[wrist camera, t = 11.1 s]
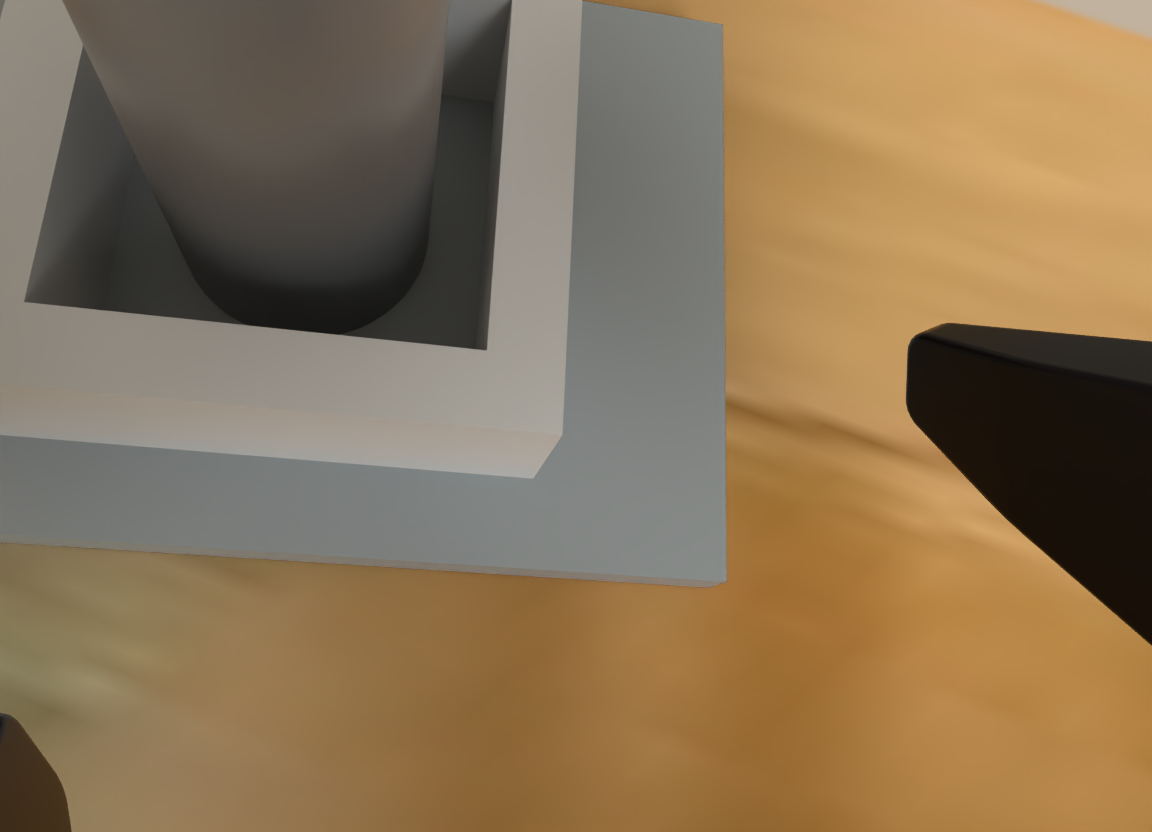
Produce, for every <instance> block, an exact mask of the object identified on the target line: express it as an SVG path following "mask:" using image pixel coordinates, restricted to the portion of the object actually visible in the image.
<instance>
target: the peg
mask: <svg viewBox="0 0 1152 832" xmlns="http://www.w3.org/2000/svg"><path fill="white" fill-rule="evenodd" d="M62 1H63V3H64V5H65V7H66V9H67V12H68V14H69V16H70V18H71V20H72V22H73V24H74V26H75V29H76V31H77V33H78V35H79V37H80V39H81V41H82V43H83V45H84V48H85V50H86V52H87V54H88V56H89V58H90V60H91V62H92V64H93V67H94V69H95V71H96V73H97V75H98V77H99V79H100V81H101V84H102V86H103V88H104V90H105V92H106V94H107V96H108V98H109V100H110V103H111V105H112V107H113V109H114V111H115V113H116V115H117V117H118V119H119V122H120V124H121V126H122V128H123V130H124V132H125V134H126V136H127V139H128V141H129V143H130V145H131V147H132V149H133V151H134V153H135V155H136V158H137V160H138V162H139V164H140V166H141V168H142V170H143V172H144V174H145V177H146V179H147V181H148V183H149V185H150V187H151V189H152V191H153V194H154V196H155V198H156V200H157V202H158V204H159V206H160V208H161V210H162V213H163V215H164V217H165V219H166V221H167V223H168V225H169V227H170V230H171V232H172V234H173V236H174V238H175V240H176V242H177V244H178V246H179V249H180V251H181V253H182V255H183V257H184V259H185V261H186V263H187V265H188V268H189V269H190V271H191V273H192V275H193V277H194V279H195V281H196V282H197V283H198V285H199V286H200V288H201V289H202V290H203V292H204V293H205V294H206V295H207V296H208V297H209V298H210V299H211V300H212V301H213V302H214V303H215V304H216V305H217V306H218V307H219V308H221V309H222V310H223V311H224V312H226V313H227V314H228V315H230V316H231V317H233V318H235V319H236V320H238V321H240V322H241V323H243V324H246V325H248V326H258V327H267V328H277V329H287V330H296V331H306V332H315V333H325V334H334V335H341V334H344V333H347V332H350V331H353V330H356V329H359V328H361V327H363V326H365V325H367V324H370V323H372V322H373V321H375V320H376V319H378V318H380V317H381V316H383V315H384V314H386V313H387V312H388V311H389V310H390V309H392V308H393V307H394V306H395V305H396V304H397V303H398V302H399V301H400V300H401V299H402V298H403V297H404V296H405V295H406V294H407V292H408V291H409V289H410V288H411V287H412V285H413V284H414V282H415V280H416V278H417V276H418V274H419V272H420V271H421V268H422V265H423V262H424V259H425V256H426V251H427V246H428V238H429V227H430V216H431V204H432V193H433V182H434V171H435V159H436V148H437V137H438V126H439V114H440V103H441V92H442V81H443V70H444V58H445V47H446V36H447V25H448V13H449V2H450V0H62Z"/></svg>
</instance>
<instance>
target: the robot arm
mask: <svg viewBox="0 0 1152 832" xmlns="http://www.w3.org/2000/svg"><path fill="white" fill-rule="evenodd" d="M906 405H907V409H908V412H909V414H910V416H911V418H912V420H913V421H914V423H915V424H916V425H917V426H918V427H919V428H920V429H921V430H922V431H923V433H924V434H925V435H926V436H927V437H928V438H929V439H930V440H931V441H932V442H933V443H934V444H935V445H936V446H937V447H938V448H939V449H940V450H941V451H942V453H943V454H944V455H945V456H946V457H947V458H948V459H949V460H950V461H951V462H952V463H953V464H954V465H955V466H956V467H957V468H958V469H959V470H960V472H961V473H962V474H963V475H964V476H965V477H966V478H967V479H968V480H969V481H970V482H971V483H972V484H973V485H974V486H975V487H976V488H977V489H978V491H979V492H980V493H981V494H982V495H983V496H984V497H985V498H986V499H987V500H988V501H989V502H990V503H991V504H992V505H993V506H994V507H995V508H996V509H997V510H998V511H999V512H1000V513H1001V514H1002V515H1003V516H1004V517H1005V518H1006V519H1007V520H1008V521H1009V522H1010V523H1011V524H1012V525H1013V526H1015V527H1016V528H1017V529H1018V530H1019V531H1020V532H1021V533H1022V534H1023V535H1025V536H1026V537H1027V538H1028V539H1029V540H1030V541H1031V542H1033V543H1034V544H1035V545H1036V546H1037V547H1038V548H1040V549H1041V550H1042V551H1043V552H1044V553H1045V554H1046V555H1048V556H1049V557H1050V558H1051V559H1052V560H1053V561H1055V562H1056V563H1057V564H1058V565H1059V566H1060V567H1061V568H1063V569H1064V570H1065V571H1066V572H1067V573H1068V574H1070V575H1071V576H1072V577H1073V578H1074V579H1075V580H1076V581H1078V582H1079V583H1080V584H1081V585H1082V586H1083V587H1085V588H1086V589H1087V590H1088V591H1089V592H1090V593H1091V594H1093V595H1094V596H1095V597H1096V598H1097V599H1098V600H1100V601H1101V602H1102V603H1103V604H1104V605H1105V606H1106V607H1108V608H1109V609H1110V610H1111V611H1112V612H1113V613H1115V614H1116V615H1117V616H1118V617H1119V618H1120V619H1121V620H1123V621H1124V622H1125V623H1126V624H1127V625H1128V626H1130V627H1131V628H1132V629H1133V630H1134V631H1135V632H1137V633H1138V634H1139V635H1140V636H1141V637H1142V638H1143V639H1145V640H1146V641H1147V642H1148V643H1149V644H1150V645H1152V342H1151V341H1140V340H1129V339H1119V338H1108V337H1097V336H1086V335H1076V334H1065V333H1054V332H1043V331H1032V330H1022V329H1011V328H1000V327H989V326H979V325H968V324H957V323H945V324H941V325H938V326H936V327H933V328H931V329H928V330H926V331H924V332H921V333H919V334H917V335H915V336H914V337H913V338H912V339H911V342H910V344H909V346H908V354H907V383H906ZM0 832H72V831H71V824H70V818H69V811H68V804H67V799H66V796H65V792H64V789H63V786H62V784H61V782H60V780H59V778H58V776H57V774H56V773H55V771H54V770H53V768H52V767H51V766H50V764H49V763H48V762H47V760H46V759H45V757H44V756H43V755H42V753H41V752H40V750H39V749H38V748H37V746H36V745H35V744H34V742H33V741H32V739H31V738H30V737H29V735H28V734H27V733H26V731H25V730H24V728H23V727H22V726H21V724H20V723H19V722H18V721H17V720H16V719H15V718H13V717H12V716H11V715H9V714H2V713H0Z"/></svg>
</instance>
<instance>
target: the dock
mask: <svg viewBox="0 0 1152 832" xmlns="http://www.w3.org/2000/svg"><path fill="white" fill-rule="evenodd" d="M0 542H3V543H19V544H34V545H50V546H66V547H81V548H97V549H112V550H128V551H144V552H159V553H175V554H191V555H206V556H222V557H237V558H253V559H269V560H284V561H300V562H315V563H331V564H347V565H362V566H378V567H393V568H409V569H425V570H440V571H456V572H472V573H487V574H503V575H518V576H534V577H550V578H565V579H581V580H596V581H612V582H628V583H643V584H659V585H674V586H690V587H706V588H709V587H712V586H715V585H718V584H721V583H725V582H727V560H726V417H725V275H724V132H723V24H717V23H711V22H705V21H699V20H693V19H687V18H682V17H676V16H670V15H664V14H658V13H652V12H646V11H641V10H635V9H629V8H623V7H617V6H611V5H605V4H600V3H594V2H588V1H582V0H450V2H449V13H448V25H447V36H446V47H445V58H444V70H443V81H442V92H441V103H440V114H439V126H438V137H437V148H436V159H435V171H434V182H433V193H432V204H431V216H430V227H429V238H428V246H427V251H426V256H425V259H424V262H423V265H422V268H421V271H420V272H419V274H418V276H417V278H416V280H415V282H414V284H413V285H412V287H411V288H410V289H409V291H408V292H407V294H406V295H405V296H404V297H403V298H402V299H401V300H400V301H399V302H398V303H397V304H396V305H395V306H394V307H393V308H392V309H390V310H389V311H388V312H387V313H386V314H384V315H383V316H381V317H380V318H378V319H376V320H375V321H373V322H372V323H370V324H367V325H365V326H363V327H361V328H359V329H356V330H353V331H350V332H347V333H344V334H341V335H334V334H325V333H315V332H306V331H296V330H287V329H277V328H267V327H258V326H248V325H246V324H243V323H241V322H240V321H238V320H236V319H235V318H233V317H231V316H230V315H228V314H227V313H226V312H224V311H223V310H222V309H221V308H219V307H218V306H217V305H216V304H215V303H214V302H213V301H212V300H211V299H210V298H209V297H208V296H207V295H206V294H205V293H204V292H203V290H202V289H201V288H200V286H199V285H198V283H197V282H196V281H195V279H194V277H193V275H192V273H191V271H190V269H189V268H188V265H187V263H186V261H185V259H184V257H183V255H182V253H181V251H180V249H179V246H178V244H177V242H176V240H175V238H174V236H173V234H172V232H171V230H170V227H169V225H168V223H167V221H166V219H165V217H164V215H163V213H162V210H161V208H160V206H159V204H158V202H157V200H156V198H155V196H154V194H153V191H152V189H151V187H150V185H149V183H148V181H147V179H146V177H145V174H144V172H143V170H142V168H141V166H140V164H139V162H138V160H137V158H136V155H135V153H134V151H133V149H132V147H131V145H130V143H129V141H128V139H127V136H126V134H125V132H124V130H123V128H122V126H121V124H120V122H119V119H118V117H117V115H116V113H115V111H114V109H113V107H112V105H111V103H110V100H109V98H108V96H107V94H106V92H105V90H104V88H103V86H102V84H101V81H100V79H99V77H98V75H97V73H96V71H95V69H94V67H93V64H92V62H91V60H90V58H89V56H88V54H87V52H86V50H85V48H84V45H83V43H82V41H81V39H80V37H79V35H78V33H77V31H76V29H75V26H74V24H73V22H72V20H71V18H70V16H69V14H68V12H67V9H66V7H65V5H64V3H63V1H62V0H0Z"/></svg>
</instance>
